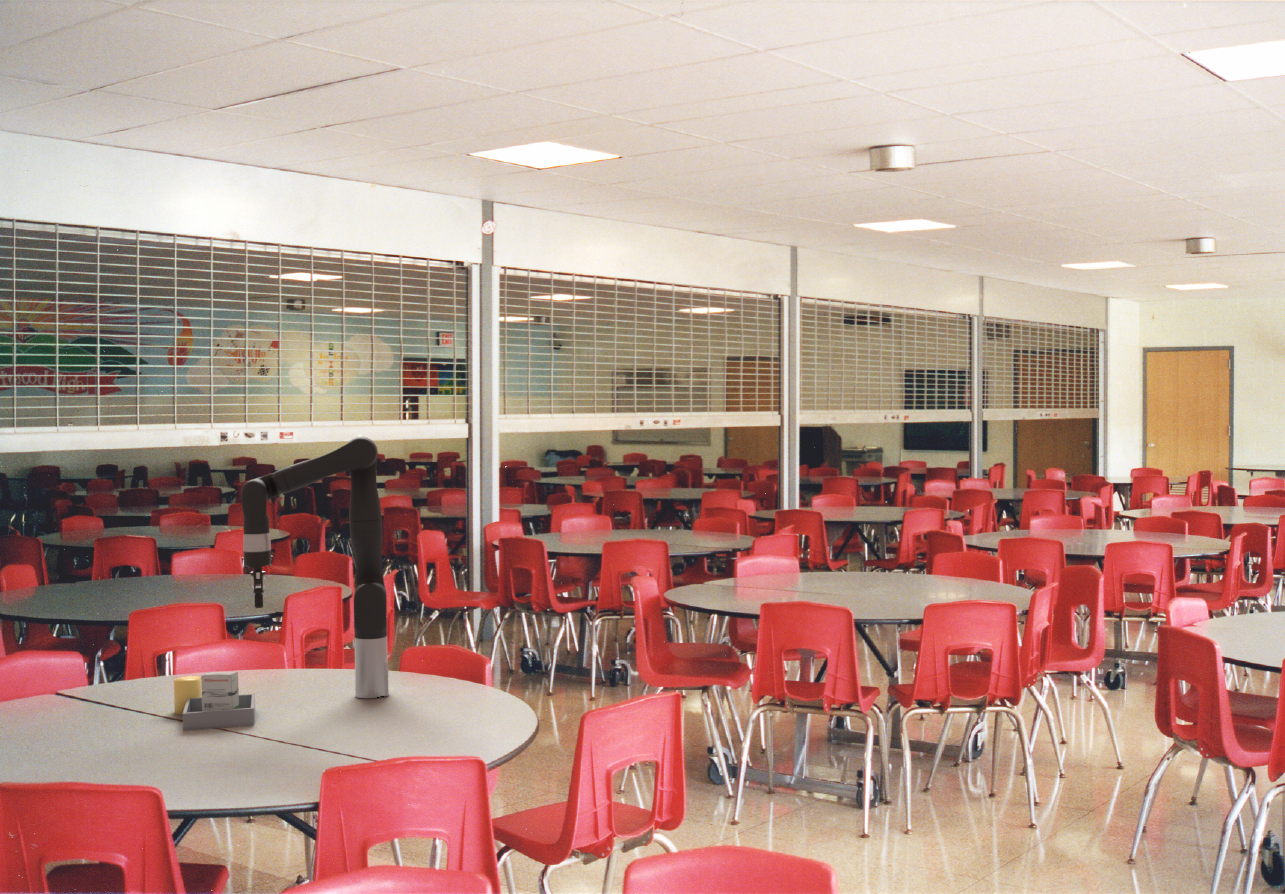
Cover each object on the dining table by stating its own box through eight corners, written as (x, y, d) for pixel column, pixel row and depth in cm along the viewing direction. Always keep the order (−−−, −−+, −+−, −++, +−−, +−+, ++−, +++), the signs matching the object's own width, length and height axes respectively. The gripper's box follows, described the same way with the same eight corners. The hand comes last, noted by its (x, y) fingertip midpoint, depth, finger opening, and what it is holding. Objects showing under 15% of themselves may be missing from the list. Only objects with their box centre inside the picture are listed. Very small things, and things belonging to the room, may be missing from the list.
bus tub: (255, 709, 338) (254, 693, 338) (254, 725, 321) (253, 708, 321) (187, 714, 333) (187, 698, 333) (183, 730, 316) (182, 713, 316)
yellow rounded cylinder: (202, 707, 341) (201, 675, 341) (200, 713, 334) (200, 680, 334) (175, 709, 339) (175, 677, 339) (173, 715, 332) (172, 682, 332)
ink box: (240, 714, 329) (239, 671, 329) (232, 719, 324) (232, 674, 324) (208, 714, 330) (208, 670, 329) (201, 718, 325) (200, 674, 324)
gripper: (271, 551, 342) (273, 608, 342) (270, 545, 355) (272, 601, 356) (243, 552, 339) (245, 610, 340) (243, 547, 353) (245, 602, 353)
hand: (258, 605), depth 348 cm, fingers open, 8 cm apart
